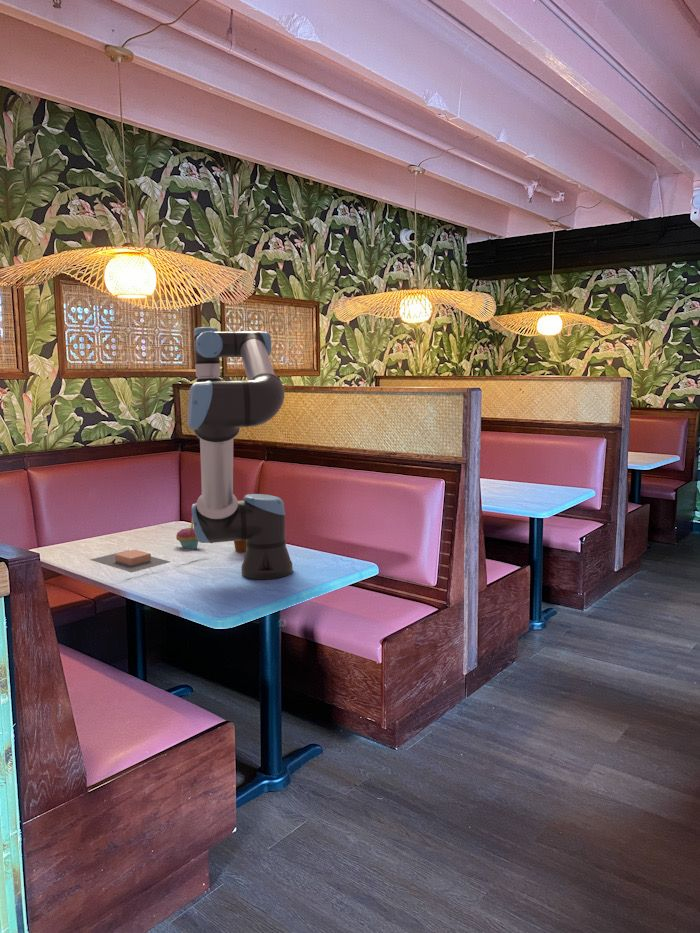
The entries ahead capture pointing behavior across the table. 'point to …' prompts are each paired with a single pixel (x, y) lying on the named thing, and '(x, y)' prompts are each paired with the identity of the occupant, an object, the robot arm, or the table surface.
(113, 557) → the mat
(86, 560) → the table surface
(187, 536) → the cupcake
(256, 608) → the table surface
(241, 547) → the disposable coffee cup
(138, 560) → the tile
